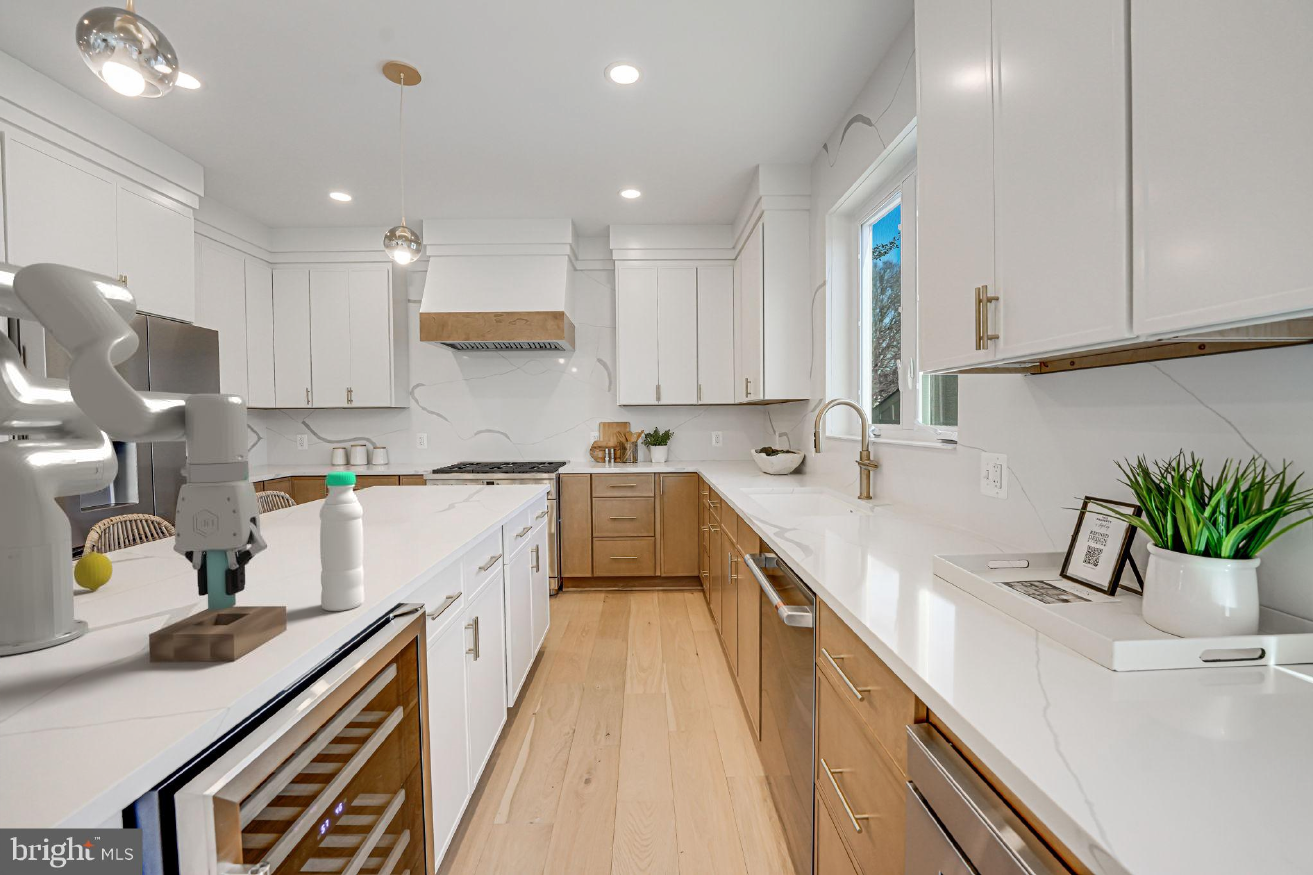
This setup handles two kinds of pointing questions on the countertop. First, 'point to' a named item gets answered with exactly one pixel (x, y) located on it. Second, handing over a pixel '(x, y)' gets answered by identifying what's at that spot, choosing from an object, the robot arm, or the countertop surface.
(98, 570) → the lemon
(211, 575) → the dowel
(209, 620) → the socket block
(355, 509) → the water bottle
